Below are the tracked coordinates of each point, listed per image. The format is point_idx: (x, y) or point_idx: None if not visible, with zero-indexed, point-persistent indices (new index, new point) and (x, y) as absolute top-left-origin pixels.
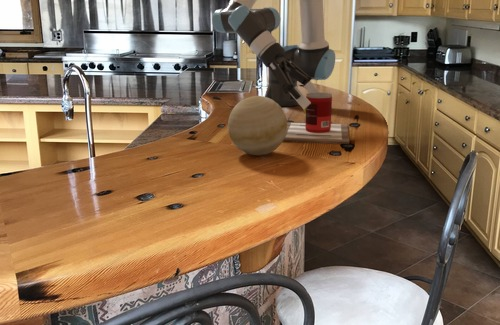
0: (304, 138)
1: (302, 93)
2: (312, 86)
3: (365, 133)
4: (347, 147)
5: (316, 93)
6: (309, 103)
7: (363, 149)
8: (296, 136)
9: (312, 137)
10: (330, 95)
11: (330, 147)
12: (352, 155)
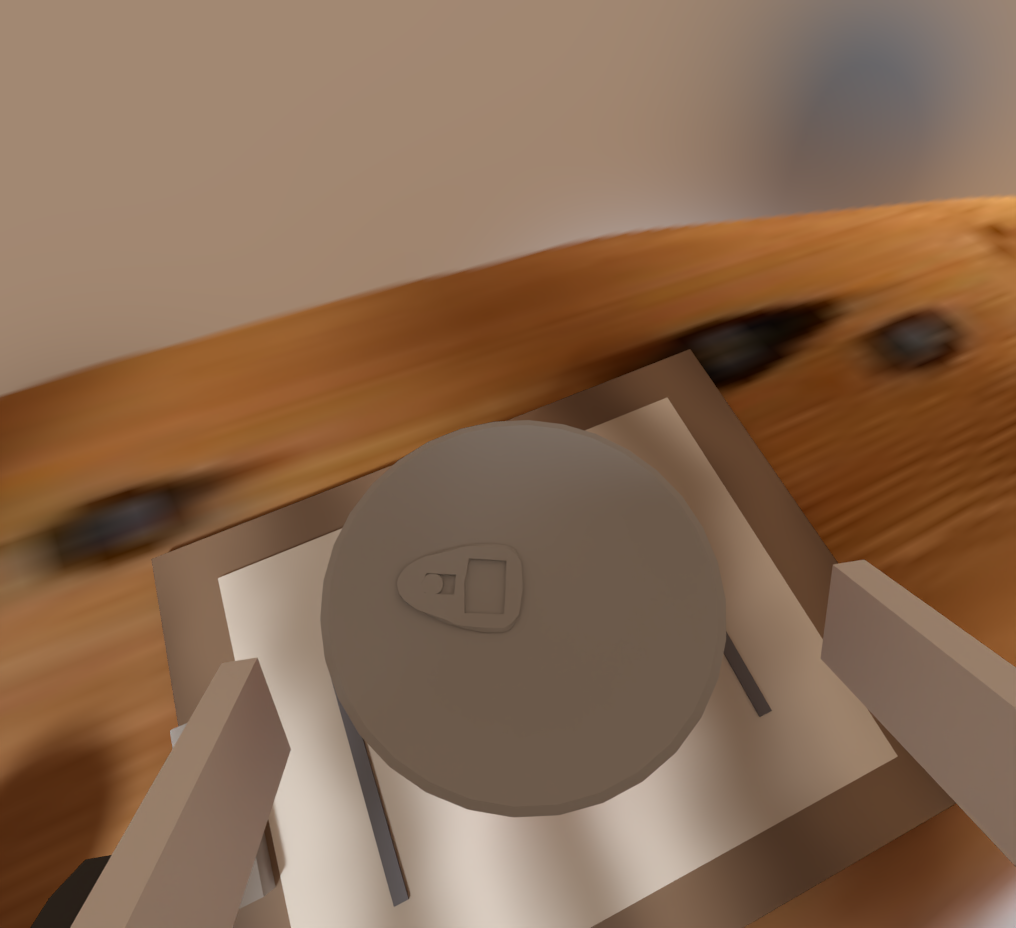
0: (805, 609)
1: (998, 684)
2: (148, 923)
3: (371, 377)
4: (760, 338)
5: (390, 702)
6: (868, 569)
7: (741, 271)
8: (815, 683)
9: (759, 564)
10: (527, 420)
11: (827, 405)
12: (882, 271)
